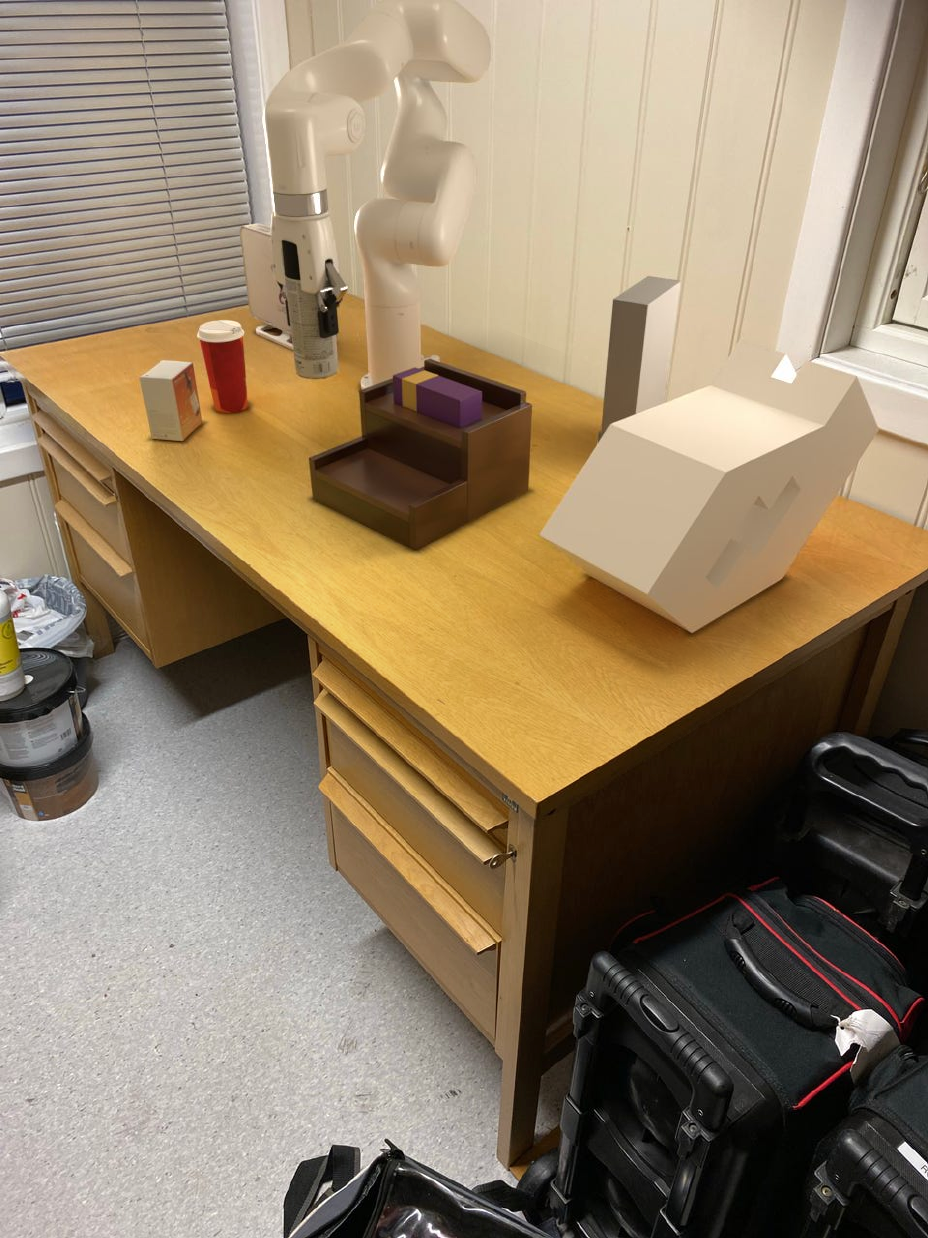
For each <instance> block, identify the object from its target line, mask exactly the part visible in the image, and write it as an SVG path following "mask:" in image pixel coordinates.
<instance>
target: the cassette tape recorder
mask: <svg viewBox="0 0 928 1238" xmlns="http://www.w3.org/2000/svg"><path fill="white" fill-rule="evenodd" d="M681 285H682V280H678V279H671V278H665V277H658V276H654V275H653V276H652V275H647V276H646V277H644V278H643V279H641V280H639V281H638V282H636V283H635V284H634V285H632V286H630V287H629V288H628V289H626V290H624V291H623V292H622V293H620V294H619V295H617V296H616V297H614V298H613V299H612V305H611V306H612V307H611V317H610V328H609V338H608V339H609V340H608V350H607V361H606V371H605V384H604V393H603V407H602V415H601V416H602V417H601V426H600V428H601V429H600V430H598V433H597V444H598V443H599V441H600V439H601V438H602V436H603V435H604V433H605V432H606V430H607V429H608V427H609V425H610V424H612V423H614V422H617V421H620V420H622V419H625V418H627V417H630V416H632V415H635V414H638V413H640V412H643V411H645V410H648V409H650V408H653V407H656V406H658V405H661V404H663V403H666V402H667V393H668V384H669V378H670V370H671V364H672V363H671V361H672V355H673V354H672V353H673V347H674V339H675V332H676V331H675V330H676V323H677V315H678V307H679V300H680V291H681ZM597 444H596V445H597Z"/></svg>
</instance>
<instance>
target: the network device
mask: <svg viewBox="0 0 928 1238" xmlns="http://www.w3.org/2000/svg"><path fill="white" fill-rule="evenodd" d="M239 240H240V247H241V255H242V263H243V271H244V279H245V287H246V294H247V302H248V303H247V304H248V309H249V313H250V315H251V317H252V318H253V319H255V320H258V321H260V322H262V323H264V324H263V325H259V326H257V327H256V328H255V333H256V335H258V336H260V337H262V338H265V339H266V340H269V341H272V342H273V343H276V344H278V345H281V346H283V347H284V348H287V349H289V350H292V351H293V344H292V335H291V327H290V326H288V322H287V313H286V305H285V300H286V299H284V298H283V297H282V290H281V288H280V286H279V285H278V283H277V280H276V279H275V277H274V274H273V272H272V270H271V265H272V252H271V226H269V225H266V224H264V223H260V222H256V223H252V224H251V223H250V224H247V225H246V224H245V225H241V226H240V227H239ZM274 328H277V329H278V330H281V331H282V332H281V334H280V335H273V334H271V333H268V332H266V331H267V330H271V329H274ZM337 339H338V334H336V340H337Z"/></svg>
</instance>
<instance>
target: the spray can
mask: <svg viewBox="0 0 928 1238" xmlns="http://www.w3.org/2000/svg"><path fill="white" fill-rule="evenodd" d="M282 250H283V260H284V270H285V281H286V291H287V300H288V308H289V317H290V326H291V335H292V342H291V344H293V350H292V352H293V361H294V369H295V373H296V375H297V376H298V377H300V378H301V379H306V380H323V379H328V378H330V377H333V376H335V375H336V374H337V373H338V371H339V368H340V367H339V355H338V341H337V339H336V335H334V336H331V337H328V338H325V339H323V338H321V337H320V333H319V323H318V311H320V310H321V309H320V307H319V304H318V301H317V299H316V295H315V294H310V293H307V292H304V291H303V290H301V278H300V268H299V259H298V252H297V245H296V244H295V243H293V242H289V241H286V240H282ZM327 286H328V280H326V281H324V285H323V287H327ZM323 295H324V298H325V301H326V299H327V298H328V291H327V292H323Z"/></svg>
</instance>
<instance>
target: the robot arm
mask: <svg viewBox="0 0 928 1238" xmlns="http://www.w3.org/2000/svg"><path fill="white" fill-rule="evenodd" d="M491 60H492V45H491V41H490V35H489V34H488V31H487V29H486V28H485V26H484V25H483V23H482V22H480V20H479V19H477V17H476V16H474V15H473V14H472V13H471V12H470V11H468V9H467V8H465V7H464V6H462V4H460V3H459V2H457V1H456V0H377V1H376V2H375V4H374V5H373V6H372V7H371V9H369V11H368V12H367V14H366V15H364V17H363V18H362V20H361V21H360V22H359V24H358V25H357V26H356V28H355V29H354V30H353V31H352V32H351V33H350V35H349V36H348V37H347V39H346V40H345V41H343V42H342V43H339V44H337V45H334V46H332V47H330V48H328V49H325V50H324V51H322V52H319V53H317V54H316V55H313V56H311V57H309V58H308V59H305V60H303V61H302V62H300V63H297V64H296V65H295V66H293V67H292V68H291V69H289V70H288V71H287V72H285V74H284V75H283V76H282V77H281V79H280V80H279V82H277V84H276V85H275V86H274V87H273V88H272V90H271V92H270V94H269V95H268V97H267V98H266V99H267V100H266V101H265V104H264V108H263V113H262V126H263V129H264V130H263V131H264V138H265V144H266V155H267V164H268V170H269V179H270V180H269V181H270V189H271V198H272V206H273V211H271V219H270V221H271V222H270V227H271V252H272V265H271V270H272V272H273V274H274V277H275V279H276V280H277V283H278V285H279V286H280V288H281V290H282V297H283V298H284V299H286V300H285V305H286V313H287V322H288V326H290V317H289V308H288V300H287V291H286V281H285V270H284V260H283V250H282V240H286V241H289V242H293V243H295V244H296V245H297V252H298V259H299V268H300V278H301V290H303V291H304V292H307V293H310V294H315V295H316V299H317V301H318V304H319V307H320V309H321V310H320V311H318V323H319V333H320V337H321V338H323V339H325V338H328V337H331V336H334V335H336V334H337V335H338V334H339V332H340V328H339V318H338V317H339V316H338V308H340V304H341V302H342V301H343V299H344V296H345V295H346V293H347V292H348V286H347V284H346V282H345V281H344V279H343V278H342V277H341V274H340V267H339V257H338V249H337V244H336V243H337V242H336V238H335V231H334V228H333V224H332V223H333V222H332V219H331V216H330V215H329V214H330V212H329V211H330V210H329V202H328V201H329V199H328V189H327V179H326V166H325V158H326V157H333V156H344V155H348V154H350V153H352V152H354V151H355V150H356V149H357V148H359V146H360V145H361V143H362V142H363V139H364V137H365V134H366V127H367V125H366V124H367V123H366V116H365V113H364V110H363V108H362V107H361V104H359V103H362V102H366V101H369V100H372V99H375V98H377V97H380V96H382V95H383V94H385V93H386V92H387V91H388V90H389V89H390V88H391V86H392V84H394V89H395V93H396V94H395V95H396V100H397V113H396V117H395V121H394V124H393V129H392V132H391V134H390V138H389V141H388V144H387V148H386V151H385V154H384V158H383V161H382V165H381V169H380V185H381V187H382V189H383V191H384V193H386V195H388V196H389V197H391V198H387V197H386V198H381V197H380V198H374V199H370V200H368V201H366V202H364V203H363V204H362V205H361V206H360V207H359V208H358V209H357V212H356V214H355V216H354V225H353V231H354V237H355V243H356V247H357V251H358V254H359V260H360V265H361V271H362V279H363V280H362V281H363V294H364V295H363V296H364V313H365V315H364V316H365V330H366V331H365V333H366V351H367V366H368V372H367V373H366V374H364V376H362V377H361V379H360V389H361V390H362V389H365V388H367V387H370V386H373V385H375V384H378V383H381V382H384V381H386V380H389V379H392V378H393V375H395V374H398V373H401V372H403V371H406V370H409V369H412V368H414V367H415V368H418V369H419V368H421V367H424V360H427V359H432V360H435V361H438V362H441V360H440V359H441V358H440V356H439V355H438V354H432V355H429V356H427V357H425V356H424V354H422V334H421V333H422V331H421V329H422V328H421V327H422V326H421V290H420V284H419V279H418V278H417V276H416V275H417V274H416V273H415V271H414V269H413V267H412V266H411V265H416V266H424V267H438V268H439V267H445V266H448V265H449V264H450V263H451V262H452V261H453V259H454V258H455V256H456V254H457V251H458V249H459V246H460V243H461V239H462V236H463V233H464V229H465V226H466V223H467V220H468V216H469V212H470V209H471V206H472V203H473V199H474V195H475V191H476V185H477V176H478V171H477V161H476V157H475V155H474V153H473V151H472V150H471V148H469V147H468V146H467V145H465V144H464V143H461V142H457V141H450V140H445V136H446V132H447V128H448V115H447V113H446V110H445V107H444V105H443V104H442V102H441V99H440V98H439V97H438V95H437V93H436V92H435V90H434V88H433V86H432V83H431V82H440V83H457V84H459V83H460V84H470V83H471V84H472V83H477V82H479V81H480V80H482V79H483V78H484V76H485V75H486V74H487V72H488V70H489V68H490V65H491ZM326 280H328V286H327V287H323V285H324V281H326ZM327 291H328V298H327V299H326V301H325V298H324V295H323V292H327ZM290 327H291V326H290Z"/></svg>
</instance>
